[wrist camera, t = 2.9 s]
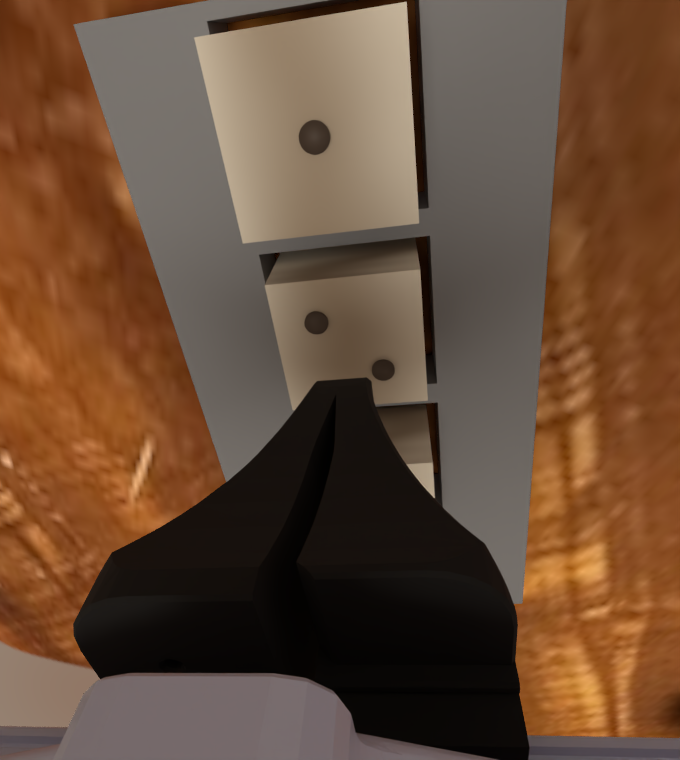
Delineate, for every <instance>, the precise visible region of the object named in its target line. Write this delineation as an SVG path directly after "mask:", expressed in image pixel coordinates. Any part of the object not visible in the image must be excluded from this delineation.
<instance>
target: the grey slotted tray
mask: <svg viewBox="0 0 680 760" xmlns="http://www.w3.org/2000/svg"><path fill="white" fill-rule="evenodd" d="M354 1H359V0H208V1H203V2H197V3H191V4H186V5H180V6H175V7H169V8H163V9H158V10H152V11H146V12H141V13H135V14H129V15H124V16H118V17H112V18H107V19H101V20H96V21H90V22H84V23H79V24H74V27H75V30H76V33H77V36H78V39H79V42H80V45H81V48H82V51H83V54H84V57H85V60H86V63H87V66H88V69H89V72H90V75H91V78H92V81H93V84H94V87H95V90H96V93H97V96H98V99H99V102H100V105H101V108H102V111H103V114H104V117H105V120H106V123H107V126H108V129H109V132H110V135H111V138H112V141H113V144H114V147H115V150H116V153H117V156H118V159H119V162H120V165H121V168H122V171H123V174H124V177H125V180H126V183H127V186H128V189H129V192H130V195H131V198H132V201H133V204H134V207H135V210H136V213H137V216H138V219H139V222H140V225H141V228H142V231H143V234H144V237H145V240H146V243H147V246H148V249H149V252H150V255H151V258H152V261H153V264H154V267H155V270H156V273H157V276H158V279H159V282H160V285H161V288H162V291H163V294H164V297H165V300H166V303H167V306H168V309H169V312H170V315H171V318H172V321H173V324H174V327H175V330H176V333H177V336H178V339H179V342H180V345H181V348H182V351H183V354H184V357H185V360H186V363H187V366H188V369H189V372H190V374H191V377H192V380H193V383H194V386H195V389H196V392H197V395H198V398H199V401H200V404H201V407H202V410H203V413H204V416H205V419H206V422H207V425H208V428H209V431H210V434H211V437H212V440H213V443H214V446H215V449H216V452H217V455H218V458H219V461H220V464H221V467H222V470H223V473H224V476H225V479H226V482H227V481H228V480H230V479H231V478H232V477H233V476H234V475H236V474H237V473H238V472H239V471H240V470H241V469H242V468H243V467H244V466H246V465H247V464H248V463H249V462H250V461H251V460H252V459H253V458H254V457H255V456H256V455H257V454H258V453H259V452H260V451H261V450H262V449H263V447H264V446H265V445H266V444H267V443H268V442H269V441H270V440H271V439H272V438H273V436H274V435H275V434H276V433H277V432H278V431H279V429H280V428H281V427H282V426H283V424H284V423H285V422H286V421H287V419H288V418H289V417H290V416H291V414H292V413H293V412H294V411H295V410H292V405H291V401H290V396H289V392H288V387H287V383H286V378H285V374H284V370H283V365H282V361H281V356H280V352H279V347H278V343H277V338H276V334H275V329H274V325H273V320H272V316H271V312H270V307H269V303H268V298H267V294H266V289H265V284H266V281H267V279H268V277H269V275H270V273H271V271H272V269H273V267H274V265H275V263H276V259H275V254H274V253H278V252H287V251H296V250H305V249H314V248H323V247H332V246H341V245H350V244H359V243H368V242H378V241H387V240H396V239H405V238H414V237H423V236H427V254H428V274H429V294H430V314H431V334H432V354H433V355H425V360H426V377H427V394H428V401H416V402H402V403H388V404H375V406H376V407H380V406H394V405H408V404H423V403H435V414H436V434H437V454H438V474H433V475H434V493H435V500H436V501H437V502H438V503H439V504H440V505H441V506H442V507H443V508H444V509H445V510H446V511H447V512H448V513H449V514H450V515H451V516H452V517H454V518H455V519H456V520H457V521H458V522H459V523H460V524H461V525H463V526H464V527H465V528H466V529H467V530H468V531H470V532H471V533H472V534H473V535H475V536H476V537H477V538H478V539H480V540H481V541H482V542H484V543H485V544H486V546H487V548H488V550H489V552H490V553H491V555H492V557H493V559H494V561H495V562H496V564H497V566H498V568H499V570H500V572H501V574H502V576H503V578H504V580H505V583H506V585H507V587H508V590H509V592H510V595H511V598H512V601H513V603H514V604H519V603H522V601H523V587H524V574H525V560H526V547H527V533H528V519H529V506H530V492H531V479H532V465H533V451H534V438H535V424H536V411H537V397H538V384H539V370H540V356H541V343H542V329H543V316H544V302H545V288H546V275H547V261H548V248H549V234H550V221H551V207H552V193H553V180H554V166H555V153H556V139H557V125H558V112H559V98H560V85H561V71H562V57H563V44H564V30H565V17H566V3H567V0H415V13H416V33H417V53H418V73H419V93H420V113H421V133H422V154H423V174H424V191H423V192H417V193H418V210H419V223H418V224H410V225H401V226H392V227H383V228H375V229H366V230H357V231H348V232H340V233H331V234H322V235H313V236H304V237H296V238H287V239H278V240H269V241H261V242H252V243H243V242H242V238H241V234H240V229H239V225H238V221H237V217H236V212H235V208H234V204H233V200H232V196H231V191H230V187H229V183H228V179H227V174H226V170H225V166H224V162H223V158H222V153H221V149H220V145H219V141H218V136H217V132H216V128H215V124H214V119H213V115H212V111H211V107H210V103H209V98H208V94H207V90H206V86H205V81H204V77H203V73H202V69H201V65H200V60H199V56H198V52H197V48H196V43H195V39H194V37H199V36H205V35H211V34H217V33H223V32H229V31H228V27H227V23H230V22H236V21H242V20H248V19H254V18H260V17H266V16H271V15H277V14H283V13H289V12H295V11H301V10H307V9H312V8H318V7H324V6H330V5H336V4H342V3H348V2H354Z"/></svg>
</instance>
